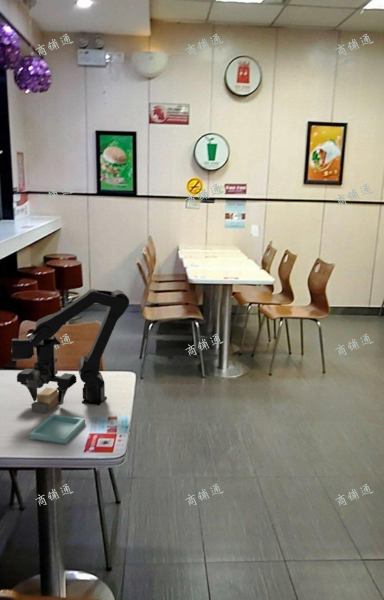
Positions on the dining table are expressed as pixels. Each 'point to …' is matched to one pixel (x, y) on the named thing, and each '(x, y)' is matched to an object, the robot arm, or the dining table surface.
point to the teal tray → (57, 429)
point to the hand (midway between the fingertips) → (47, 402)
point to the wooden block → (48, 396)
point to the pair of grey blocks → (41, 406)
